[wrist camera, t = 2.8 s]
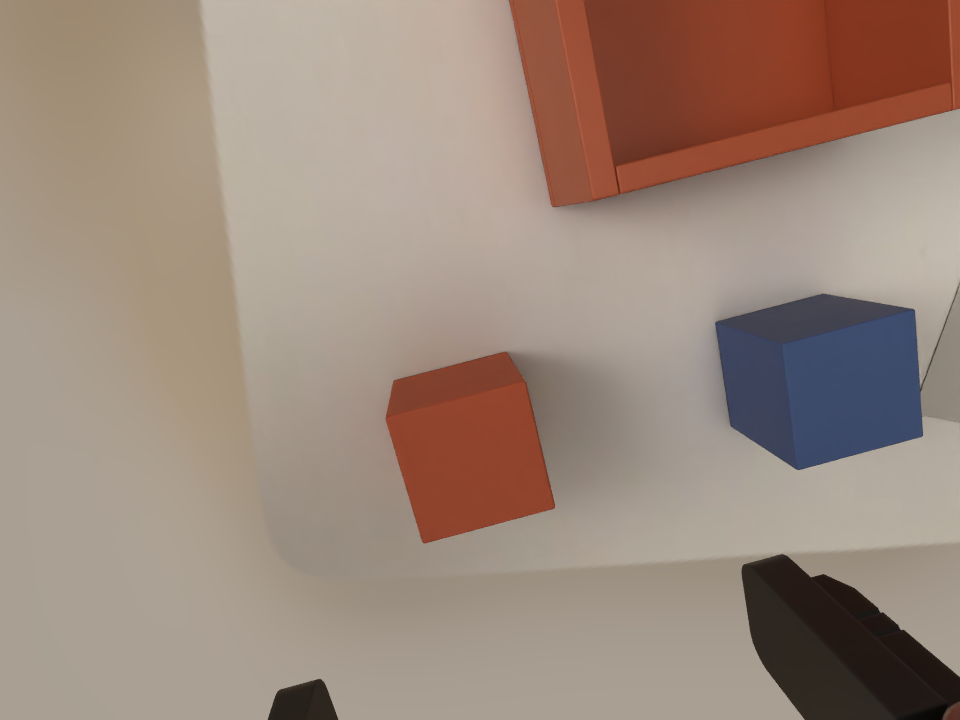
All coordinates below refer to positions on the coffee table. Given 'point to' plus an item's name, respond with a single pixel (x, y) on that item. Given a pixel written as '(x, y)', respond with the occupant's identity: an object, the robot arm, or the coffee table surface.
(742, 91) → the red bin
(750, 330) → the blue block
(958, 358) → the grey square plate
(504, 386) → the red block
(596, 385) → the coffee table surface
